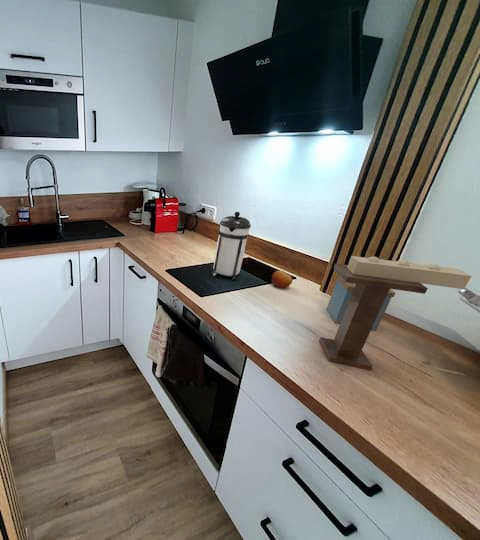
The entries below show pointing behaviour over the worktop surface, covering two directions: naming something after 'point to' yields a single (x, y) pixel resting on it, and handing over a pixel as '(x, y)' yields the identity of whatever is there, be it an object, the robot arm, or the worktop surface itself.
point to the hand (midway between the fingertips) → (476, 298)
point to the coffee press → (231, 245)
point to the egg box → (409, 272)
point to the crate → (342, 299)
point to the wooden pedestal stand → (361, 316)
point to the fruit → (281, 279)
